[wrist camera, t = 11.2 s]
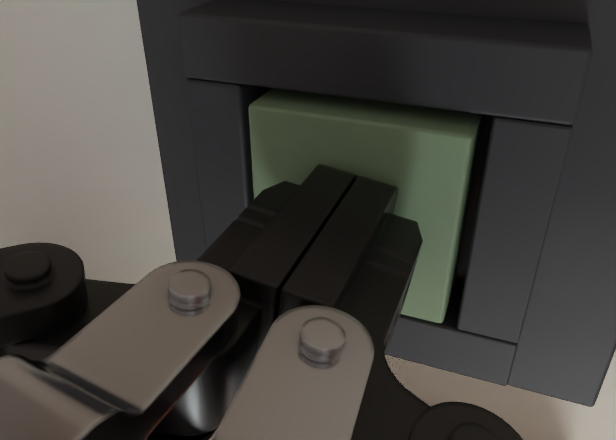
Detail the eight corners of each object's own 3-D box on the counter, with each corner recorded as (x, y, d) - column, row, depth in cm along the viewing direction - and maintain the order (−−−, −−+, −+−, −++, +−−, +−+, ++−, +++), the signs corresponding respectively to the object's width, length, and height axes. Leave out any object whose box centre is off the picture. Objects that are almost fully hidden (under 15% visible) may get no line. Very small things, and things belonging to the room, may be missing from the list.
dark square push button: (235, 239, 19) (149, 336, 15) (206, -101, 14) (64, -88, 10) (589, 317, 16) (597, 467, 12) (726, -94, 11) (820, -70, 7)
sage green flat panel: (288, 239, 14) (257, 281, 12) (284, 77, 12) (246, 105, 10) (456, 274, 13) (442, 325, 11) (485, 100, 10) (472, 135, 9)
